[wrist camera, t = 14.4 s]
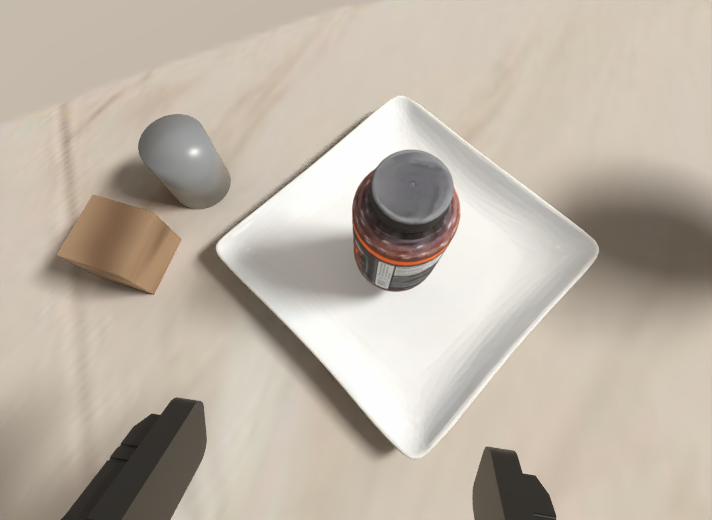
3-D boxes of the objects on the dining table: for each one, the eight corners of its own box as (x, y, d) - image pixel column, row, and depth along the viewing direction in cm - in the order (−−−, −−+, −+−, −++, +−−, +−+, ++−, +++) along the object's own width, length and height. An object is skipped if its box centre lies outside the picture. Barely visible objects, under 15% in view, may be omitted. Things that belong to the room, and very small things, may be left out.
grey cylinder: (161, 188, 36) (124, 147, 31) (202, 149, 38) (173, 103, 32) (201, 219, 35) (170, 183, 30) (242, 179, 37) (219, 136, 31)
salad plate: (587, 260, 34) (611, 244, 31) (410, 463, 29) (416, 470, 26) (397, 112, 39) (400, 86, 36) (222, 263, 35) (207, 247, 31)
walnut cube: (99, 277, 34) (56, 255, 29) (128, 223, 35) (92, 194, 31) (154, 294, 33) (119, 275, 28) (182, 239, 35) (153, 212, 30)
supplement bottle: (350, 220, 31) (345, 133, 21) (428, 213, 32) (464, 123, 21) (357, 298, 30) (356, 247, 19) (440, 290, 30) (486, 235, 19)
